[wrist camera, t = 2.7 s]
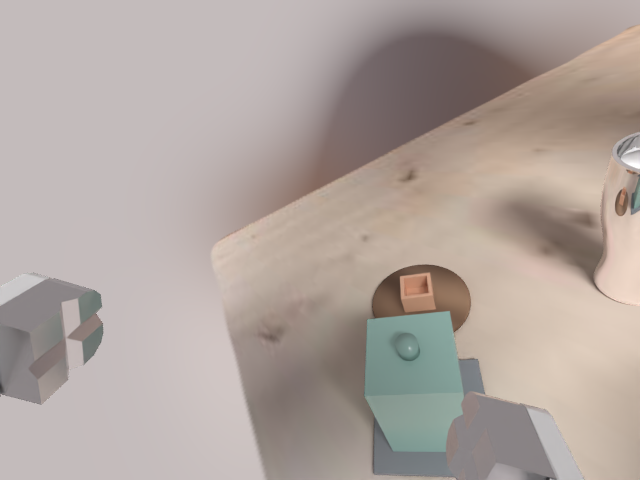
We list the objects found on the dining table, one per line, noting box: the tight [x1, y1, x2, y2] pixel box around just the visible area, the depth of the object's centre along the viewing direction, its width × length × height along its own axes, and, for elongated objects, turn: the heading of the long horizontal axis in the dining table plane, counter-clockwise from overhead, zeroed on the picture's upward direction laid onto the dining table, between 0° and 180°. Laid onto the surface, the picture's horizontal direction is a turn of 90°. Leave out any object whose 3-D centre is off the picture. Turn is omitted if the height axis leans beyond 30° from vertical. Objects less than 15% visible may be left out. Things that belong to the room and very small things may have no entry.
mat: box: [374, 359, 485, 477], centre depth 34 cm, size 10×10×1 cm
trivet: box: [373, 265, 471, 332], centre depth 43 cm, size 11×11×1 cm
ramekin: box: [400, 273, 436, 312], centre depth 42 cm, size 3×3×2 cm
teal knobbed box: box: [364, 311, 465, 452], centre depth 30 cm, size 7×7×11 cm
